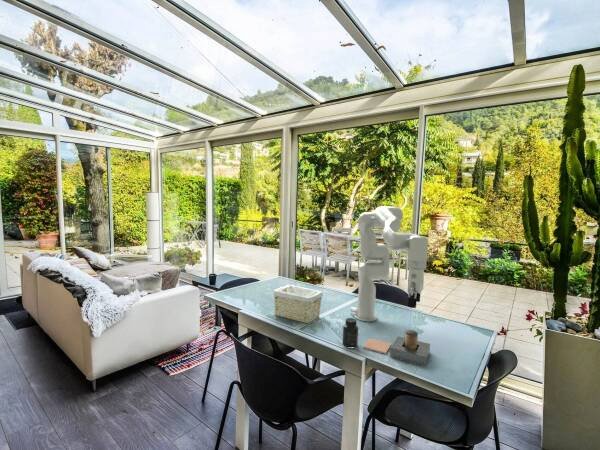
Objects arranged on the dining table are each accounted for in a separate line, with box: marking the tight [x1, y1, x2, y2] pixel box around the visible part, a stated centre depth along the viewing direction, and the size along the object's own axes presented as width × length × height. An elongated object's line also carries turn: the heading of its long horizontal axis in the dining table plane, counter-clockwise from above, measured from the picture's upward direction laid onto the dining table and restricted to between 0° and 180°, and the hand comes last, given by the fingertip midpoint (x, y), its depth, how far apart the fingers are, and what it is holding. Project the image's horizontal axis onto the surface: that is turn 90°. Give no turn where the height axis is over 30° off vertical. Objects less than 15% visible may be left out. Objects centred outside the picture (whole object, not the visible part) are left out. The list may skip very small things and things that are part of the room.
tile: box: [362, 338, 392, 355], centre depth 140 cm, size 10×10×1 cm
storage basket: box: [273, 284, 323, 324], centre depth 174 cm, size 24×16×15 cm
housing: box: [389, 335, 431, 367], centre depth 134 cm, size 14×14×4 cm
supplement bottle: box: [341, 317, 359, 348], centre depth 140 cm, size 7×7×12 cm
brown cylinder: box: [404, 329, 419, 350], centre depth 134 cm, size 5×5×10 cm
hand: (413, 304), depth 133 cm, fingers open, 9 cm apart
